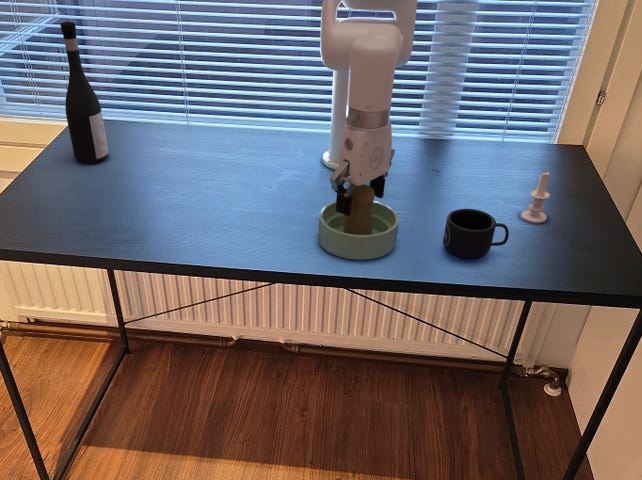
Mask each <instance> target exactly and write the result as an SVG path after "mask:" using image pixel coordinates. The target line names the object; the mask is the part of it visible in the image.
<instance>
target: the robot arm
mask: <svg viewBox="0 0 642 480" xmlns="http://www.w3.org/2000/svg"><path fill="white" fill-rule="evenodd" d="M341 4H342V5H343V6H344V7H345V8H346V9H349V10H353V11H363V12H364V11H365V12H366V11H367V12H391V13H392V14H393V16H394V17H370V16H368V17H367V16H365V17H364V16H363V17H362V16H352V17H346V18H342V19H340V20H337V19H338V18H337V16H338V9H339V7H340V6H341ZM417 10H418V0H323V1H322V6H321V14H320V32H319V35H320V36H319V40H320V42H319V51H320V52H319V53H320V59H321V62H322V64H323V65H324V67H326V68H327V69H328V70H331V71H332V93H331V94H332V96H331V113H330V115H331V116H330V130H329V131H330V133H329V149H327V150H326V151H325V152H324V153H323V154H322V163H323V164H324V165H325V166H326V167H327V168H329V169H331V170H333V172H332V174H331V175H330V177H329V182H330V184H331V189H332V190H333V191H334V193H336V200H335V201H336V211H337V212H340V213H342V214H344V215H346V216H349V215H350V214H351V205H352V196H351V195H350V194H351V192H352V190H353V188H354V186H355V185H356V186H361V185H363V184H367V183H369V186H371V187H372V188H373V190H374V192H375V197H376V198H378V199H383V198H384V196H385V195H384V194H385V185H386V178H387V177H388V176H389V172H388V171H389V170H390V168H391V166H392V161H393V158H394V156H395V152H396V150H395V149H393V147H392V145H393V144H392V143H393V129H392V119H391V118H390V117H391V108H392V100H393V91H394V90H393V89H394V80H395V73H396V68H401V67H403V66H405V65H407V64H408V63H409V61H410V59H411V56H412V54H413V53H412V51H413V47H414V38H415V27H416V19H417ZM345 183H348V184H347V186H346V187H345V186H344V185H345Z"/></svg>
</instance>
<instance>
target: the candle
mask: <svg viewBox="0 0 642 480" xmlns="http://www.w3.org/2000/svg"><path fill="white" fill-rule="evenodd" d="M549 175H550V173H549V172H547V171H545V172H542V173H541V174H540V177H539V180H538V184H537V187H536V189H533V190H530V192H529V195H531V196H532V200H531V203H530V204H528V206H527V209H526V210H523V211H522V212H521V213H520V218H521V220H522V221H524V222H527V223H529V224H538V225H539V224H543V223H545V222H546V221H547V218H548V217H547V215H546V213H544V210H545V207H544V206H543V205H544V200H546V199H549V198H550V193H549V192H547V191H546V189H547V186H548V181H549Z"/></svg>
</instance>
